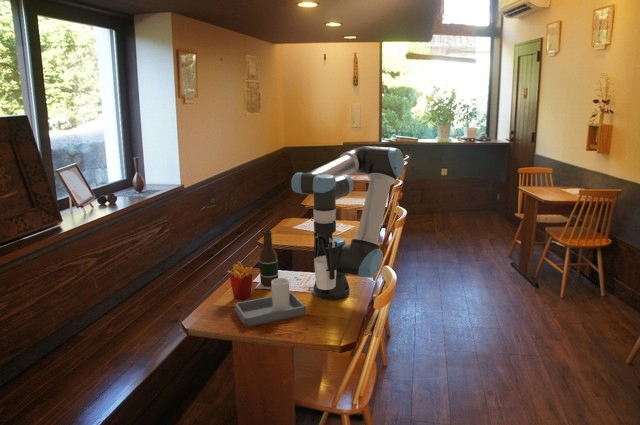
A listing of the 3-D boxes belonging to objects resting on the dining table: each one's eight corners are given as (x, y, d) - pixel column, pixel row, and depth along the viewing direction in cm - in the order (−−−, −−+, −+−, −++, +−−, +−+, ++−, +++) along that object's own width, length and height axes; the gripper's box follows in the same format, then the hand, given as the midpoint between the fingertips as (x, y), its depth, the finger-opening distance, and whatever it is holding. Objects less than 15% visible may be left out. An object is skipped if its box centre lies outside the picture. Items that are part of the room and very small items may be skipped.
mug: (285, 315, 196) (284, 285, 193) (269, 312, 199) (268, 283, 196) (296, 304, 205) (295, 276, 202) (281, 302, 208) (280, 274, 205)
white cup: (313, 282, 188) (313, 256, 185) (335, 281, 188) (335, 255, 186) (315, 291, 180) (314, 264, 177) (338, 290, 180) (338, 262, 178)
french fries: (254, 296, 215) (252, 262, 211) (240, 304, 208) (238, 268, 204) (237, 292, 220) (235, 258, 216) (224, 299, 213) (221, 264, 209)
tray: (292, 300, 211) (292, 292, 210) (306, 315, 198) (305, 306, 197) (235, 311, 202) (234, 303, 201) (245, 327, 189) (245, 318, 188)
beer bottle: (260, 281, 231) (257, 229, 225) (277, 279, 232) (275, 227, 226) (261, 287, 224) (258, 234, 218) (279, 286, 225) (277, 233, 219)
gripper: (348, 226, 170) (348, 291, 176) (322, 212, 188) (323, 271, 194) (327, 229, 167) (328, 295, 173) (303, 214, 185) (304, 275, 191)
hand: (325, 283), depth 184 cm, fingers closed on white cup, 8 cm apart
